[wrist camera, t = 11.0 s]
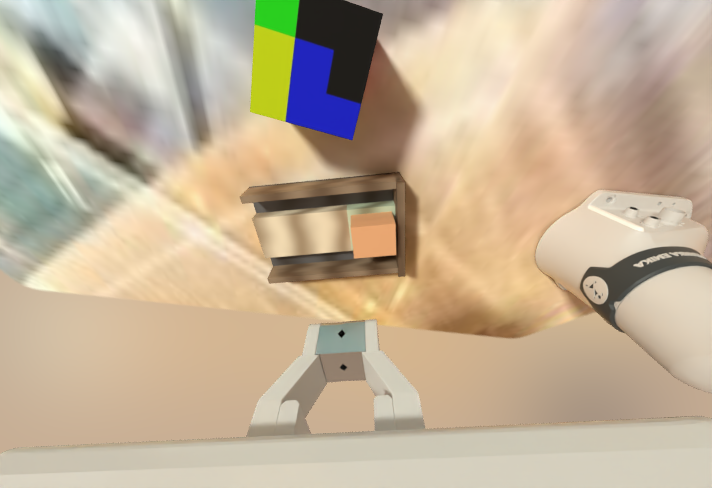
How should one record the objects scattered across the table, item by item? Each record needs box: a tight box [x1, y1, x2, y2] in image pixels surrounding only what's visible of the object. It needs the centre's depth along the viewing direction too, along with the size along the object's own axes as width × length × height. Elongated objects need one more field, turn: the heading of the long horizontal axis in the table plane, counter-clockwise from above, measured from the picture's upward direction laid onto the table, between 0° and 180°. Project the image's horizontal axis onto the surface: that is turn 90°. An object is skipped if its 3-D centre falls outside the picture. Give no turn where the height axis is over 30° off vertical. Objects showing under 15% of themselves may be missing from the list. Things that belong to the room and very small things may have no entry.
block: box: [350, 211, 396, 259], centre depth 38 cm, size 6×5×4 cm
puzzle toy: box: [250, 0, 383, 140], centre depth 27 cm, size 10×10×10 cm
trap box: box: [240, 172, 405, 283], centre depth 40 cm, size 22×15×5 cm
